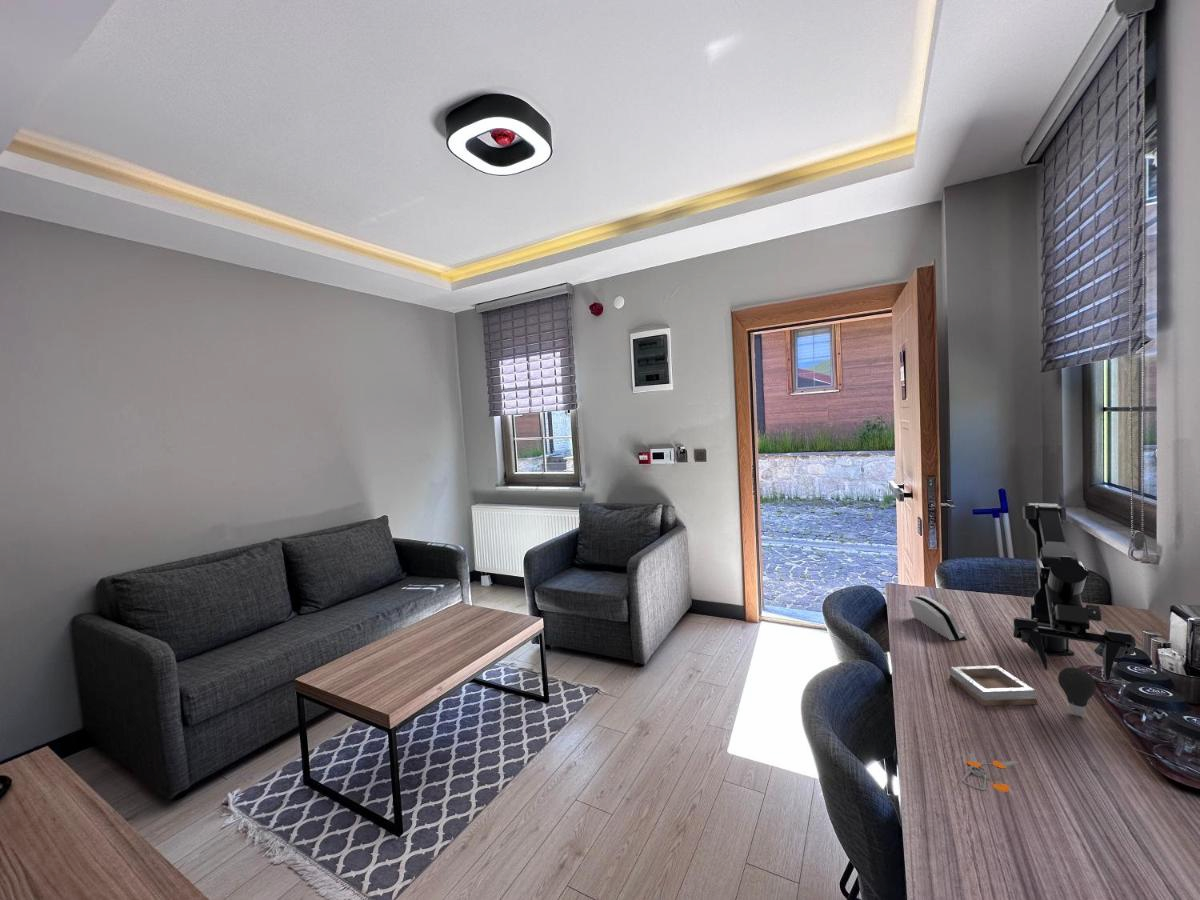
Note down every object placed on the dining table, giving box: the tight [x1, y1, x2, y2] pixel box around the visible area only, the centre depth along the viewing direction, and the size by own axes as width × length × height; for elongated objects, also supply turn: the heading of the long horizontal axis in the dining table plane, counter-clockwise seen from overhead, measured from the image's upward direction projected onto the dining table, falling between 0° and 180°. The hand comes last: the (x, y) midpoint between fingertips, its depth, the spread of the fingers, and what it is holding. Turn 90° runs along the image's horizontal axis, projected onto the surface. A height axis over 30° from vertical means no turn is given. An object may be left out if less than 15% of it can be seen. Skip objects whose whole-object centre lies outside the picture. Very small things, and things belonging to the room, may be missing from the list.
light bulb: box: [1057, 666, 1097, 718], centre depth 100 cm, size 6×6×10 cm
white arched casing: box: [908, 594, 969, 641], centre depth 144 cm, size 17×5×10 cm, turn 179°
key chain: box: [961, 752, 1019, 793], centre depth 87 cm, size 13×7×1 cm, turn 131°
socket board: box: [949, 674, 1038, 707], centre depth 111 cm, size 11×11×1 cm
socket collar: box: [950, 665, 1036, 701], centre depth 111 cm, size 11×11×2 cm
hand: (1075, 674), depth 101 cm, fingers open, 9 cm apart
